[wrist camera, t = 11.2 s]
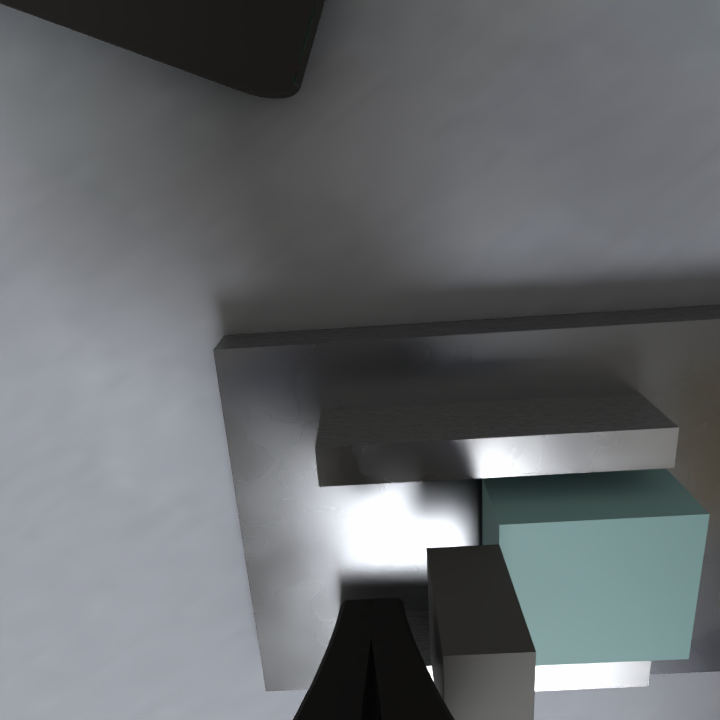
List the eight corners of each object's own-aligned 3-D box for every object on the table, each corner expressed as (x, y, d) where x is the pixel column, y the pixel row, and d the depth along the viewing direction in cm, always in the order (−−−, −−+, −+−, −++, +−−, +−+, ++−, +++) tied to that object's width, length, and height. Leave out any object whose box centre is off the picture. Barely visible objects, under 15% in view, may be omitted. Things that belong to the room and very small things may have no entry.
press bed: (1002, 287, 15) (1160, 320, 12) (902, 630, 19) (1005, 722, 16) (224, 335, 16) (191, 379, 13) (271, 659, 19) (254, 753, 16)
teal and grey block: (665, 467, 15) (807, 616, 10) (650, 599, 16) (769, 786, 11) (418, 480, 15) (442, 633, 10) (423, 610, 16) (446, 798, 12)
